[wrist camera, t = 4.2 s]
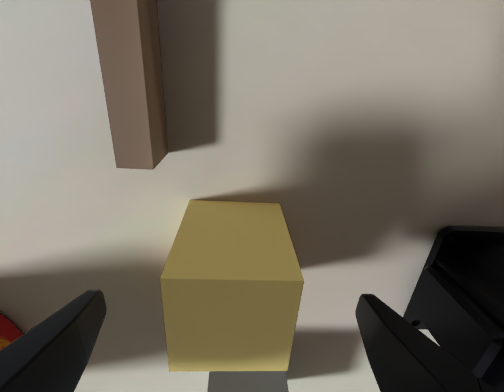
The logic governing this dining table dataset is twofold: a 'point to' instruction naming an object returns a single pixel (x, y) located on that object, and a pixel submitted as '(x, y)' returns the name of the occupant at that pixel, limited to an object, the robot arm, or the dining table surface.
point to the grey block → (247, 381)
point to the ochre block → (231, 289)
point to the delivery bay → (132, 79)
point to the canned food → (7, 332)
